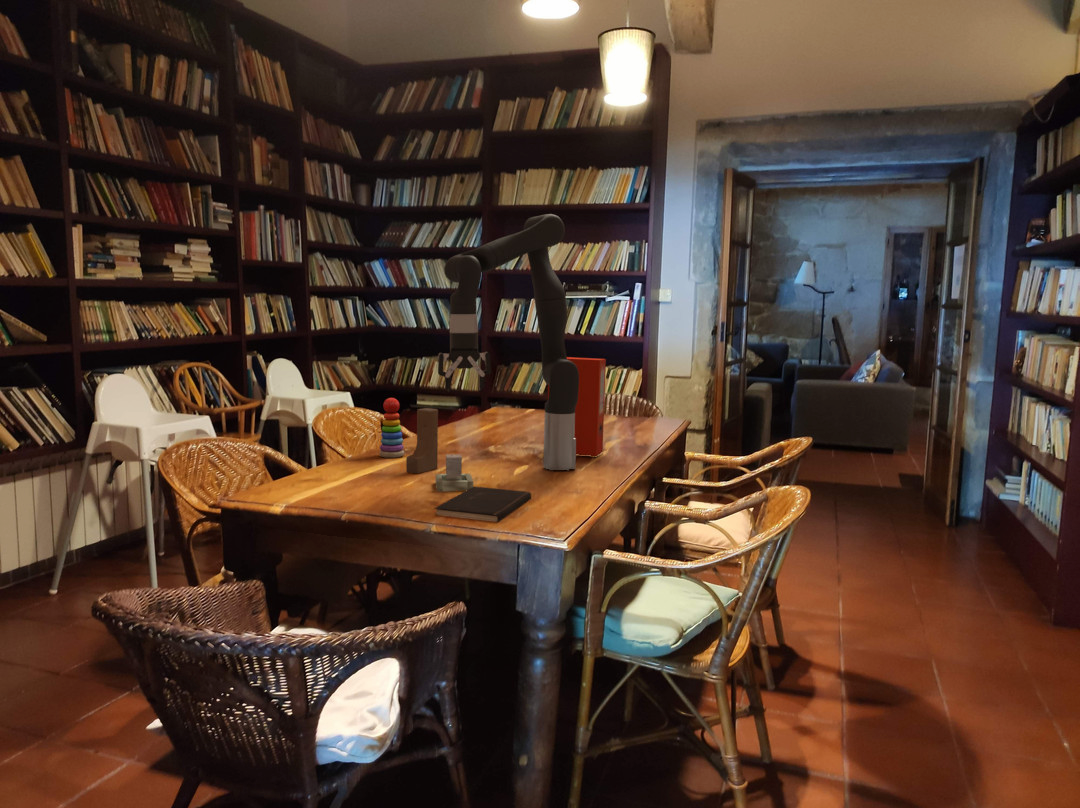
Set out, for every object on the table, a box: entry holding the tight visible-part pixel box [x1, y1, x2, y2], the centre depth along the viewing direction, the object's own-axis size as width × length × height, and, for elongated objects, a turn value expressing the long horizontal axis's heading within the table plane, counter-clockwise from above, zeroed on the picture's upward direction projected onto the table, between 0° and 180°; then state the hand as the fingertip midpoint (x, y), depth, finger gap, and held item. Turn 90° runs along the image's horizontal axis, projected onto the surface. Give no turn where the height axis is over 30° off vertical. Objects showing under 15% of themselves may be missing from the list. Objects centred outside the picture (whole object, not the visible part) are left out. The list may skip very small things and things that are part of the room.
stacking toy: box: [378, 397, 405, 459], centre depth 243 cm, size 8×8×19 cm
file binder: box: [547, 356, 607, 456], centre depth 253 cm, size 8×17×32 cm, turn 70°
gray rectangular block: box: [445, 454, 463, 481], centre depth 205 cm, size 4×4×8 cm
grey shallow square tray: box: [435, 473, 474, 492], centre depth 205 cm, size 10×10×2 cm
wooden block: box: [405, 407, 439, 474], centre depth 223 cm, size 9×4×18 cm, turn 146°
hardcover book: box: [433, 485, 532, 523], centre depth 186 cm, size 16×23×2 cm
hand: (464, 390), depth 208 cm, fingers open, 8 cm apart
